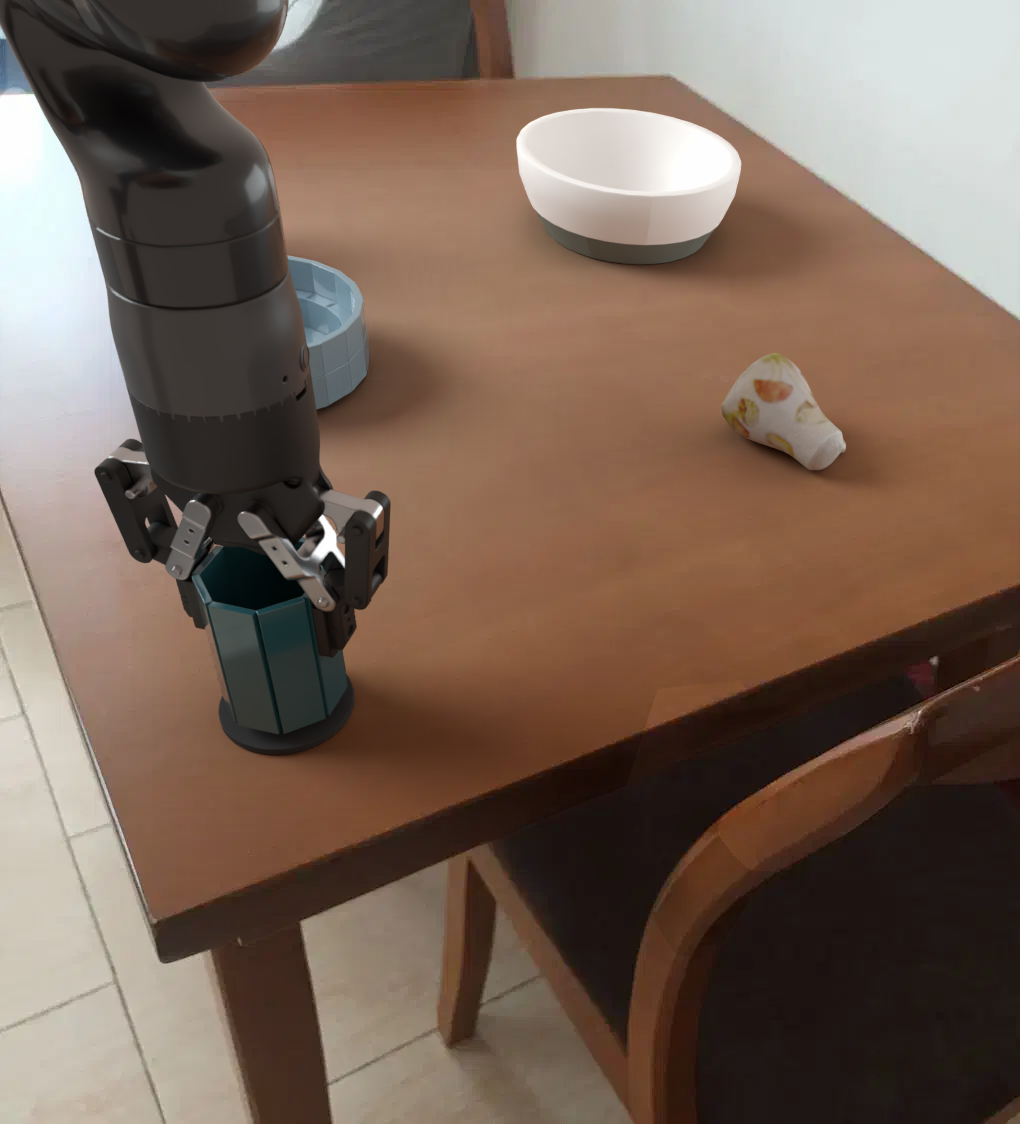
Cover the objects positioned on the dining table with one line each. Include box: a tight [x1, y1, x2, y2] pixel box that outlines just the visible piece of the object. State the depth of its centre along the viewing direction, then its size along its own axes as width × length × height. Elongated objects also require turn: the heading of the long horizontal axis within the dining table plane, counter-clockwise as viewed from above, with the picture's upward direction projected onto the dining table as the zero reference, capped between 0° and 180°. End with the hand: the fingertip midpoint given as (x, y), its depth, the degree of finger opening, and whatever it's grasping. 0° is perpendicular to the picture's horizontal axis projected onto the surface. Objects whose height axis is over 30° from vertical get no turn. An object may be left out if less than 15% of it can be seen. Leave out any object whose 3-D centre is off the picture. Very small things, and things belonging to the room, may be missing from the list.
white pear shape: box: [720, 352, 847, 471], centre depth 89 cm, size 8×10×10 cm
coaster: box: [218, 673, 355, 756], centre depth 64 cm, size 7×7×1 cm
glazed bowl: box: [287, 254, 371, 411], centre depth 87 cm, size 16×16×6 cm
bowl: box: [515, 107, 742, 265], centre depth 115 cm, size 22×22×8 cm
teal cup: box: [191, 536, 348, 734], centre depth 60 cm, size 6×6×9 cm
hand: (274, 632), depth 60 cm, fingers closed on teal cup, 6 cm apart
